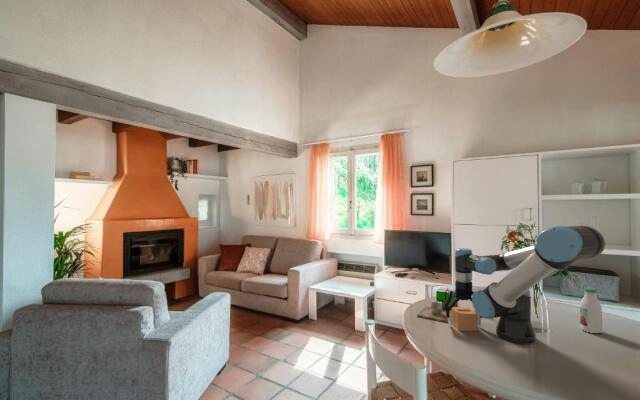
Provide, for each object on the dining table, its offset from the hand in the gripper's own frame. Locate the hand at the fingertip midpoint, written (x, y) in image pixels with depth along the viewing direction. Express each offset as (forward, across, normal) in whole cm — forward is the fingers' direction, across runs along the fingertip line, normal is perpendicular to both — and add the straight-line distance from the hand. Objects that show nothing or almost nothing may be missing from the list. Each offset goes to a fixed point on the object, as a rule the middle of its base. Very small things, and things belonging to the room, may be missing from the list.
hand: (464, 324), depth 149 cm
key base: (+1, +8, -15) cm, 18 cm away
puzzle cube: (+2, -1, -28) cm, 28 cm away
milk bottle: (+1, -57, +2) cm, 57 cm away
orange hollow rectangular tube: (+1, 0, 0) cm, 1 cm away
